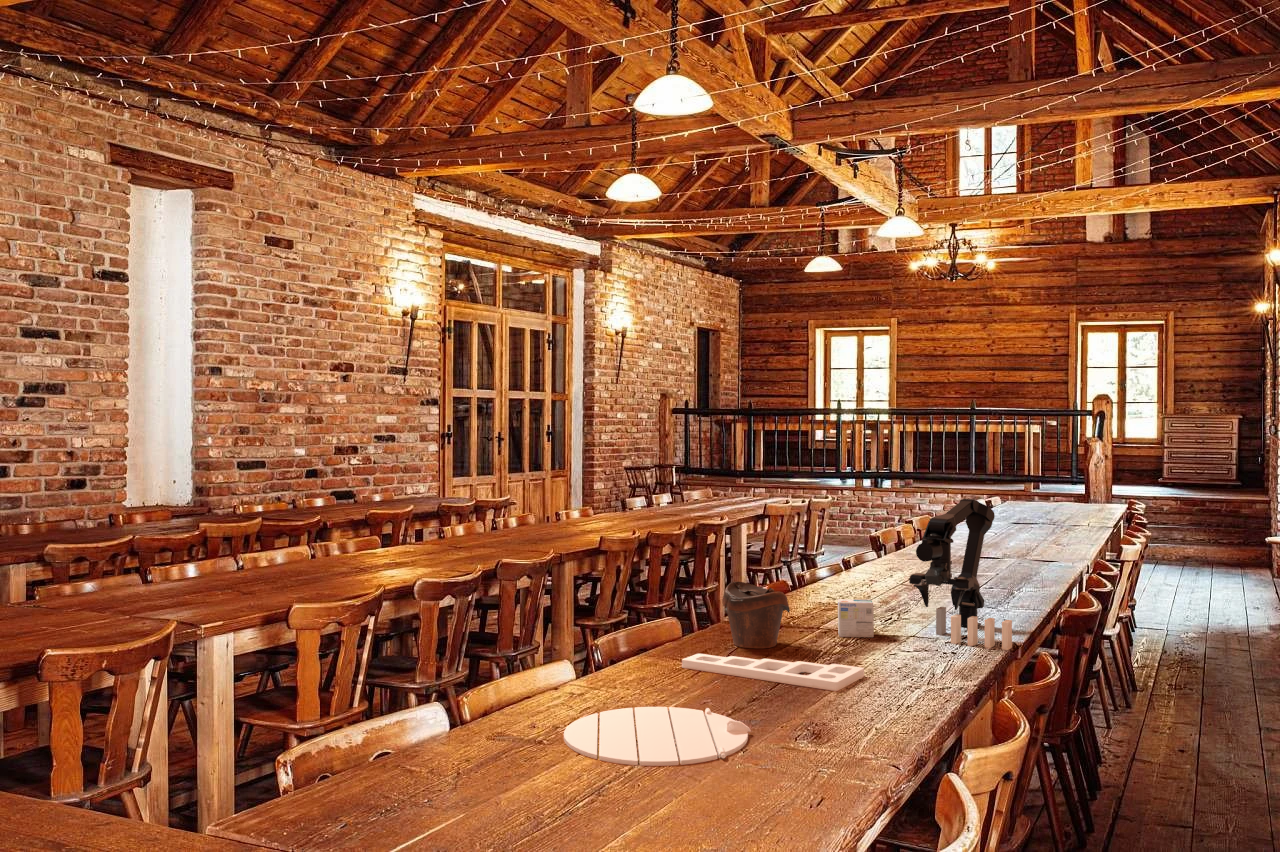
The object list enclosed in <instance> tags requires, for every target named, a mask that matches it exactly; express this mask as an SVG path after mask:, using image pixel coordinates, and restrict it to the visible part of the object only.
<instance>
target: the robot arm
mask: <svg viewBox="0 0 1280 852" xmlns="http://www.w3.org/2000/svg"><path fill="white" fill-rule="evenodd" d="M963 520H965V524H966V526H967V528H968V536H967V539H966V545H965V550H964V551H965V552H964V556H963V561H962V567H961V572H960V574H959V575H958V576H954V577H953V574H952V565H953V560H952V557H951V555H952V554H951V553H952V551H951V549H952V547H951V546H952V545H951V544H953V543H954V541H955V540H954V539H953V538H952V536H953V535H954V534H955V532H956V531H957V526H958V525H959V524H960V523H961V522H962V521H963ZM994 520H995V512H994V510H992V507H989V506H988V505H986V504H984V503H981V502H980V501H978V500H977V499H975V498H961V499H960V500H959V502H958V503H957V504H955V506H953V507H952V508H950V509H949V510H948V511H947V512H945V513H943V514H938V515H935V516H933V517H931V518H930V519H929V520H928V523H927V526H926V528H925V531H924V533H923V536H922V539H921V543H919V544H918V545H917V547H916V549H915V553H916V557H917V559H918V560H919V561H921V562H930V564H929V566H930V567H929V568H928V569H927V570H926V572H925V573H923V572H915V573H912V574H911V575H910V576H909V579H908V581H909V584H911V585H913V587H914V588H917V590H918V591H919V593H920V595H921V597H922V601H923V603H924V606H925V608H928V607H929V601H930V598H929V595H930V594H929V591H930V590H929V586H930V585H933V586H936V587H937V586H939V587H940V586H942V585H951V587H950V598H951V601H952V603H951V604H952V606H954V611H958V615H961V627H964V628H968V618H969V617H971V616H977V617H978V610H979V609H983V608H984V607H985V599H984V597H983V595H982V593H981V591H980V590H981V586H980V582H979V581H978V578H977V575H978V571H979V566H980V561H981V560H980V559H981V554H982V550H983V545H984V540H985V535H986V533H988V531H990V530H991V528H992V527H993V526H992V525H993V523H994ZM981 625H982V622H981V623H980V622H978V627H979V626H981Z"/></svg>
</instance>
